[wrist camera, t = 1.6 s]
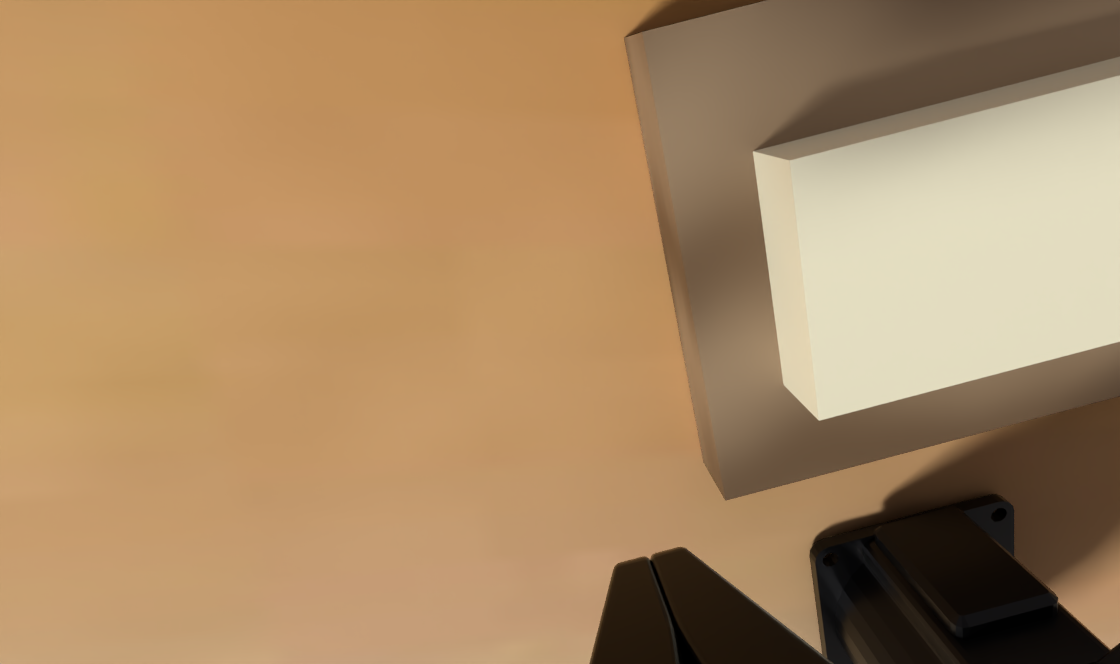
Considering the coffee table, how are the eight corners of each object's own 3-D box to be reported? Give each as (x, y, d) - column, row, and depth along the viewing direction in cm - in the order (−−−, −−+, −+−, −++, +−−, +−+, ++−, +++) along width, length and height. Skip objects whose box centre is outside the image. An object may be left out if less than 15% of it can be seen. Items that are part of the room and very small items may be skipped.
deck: (1087, 361, 21) (1147, 388, 19) (703, 462, 20) (725, 500, 19) (1108, -86, 16) (1188, -108, 15) (624, 38, 16) (641, 32, 14)
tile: (1119, 296, 18) (1194, 322, 16) (783, 384, 18) (818, 420, 16) (1134, 52, 16) (1222, 48, 14) (753, 151, 15) (789, 160, 14)
